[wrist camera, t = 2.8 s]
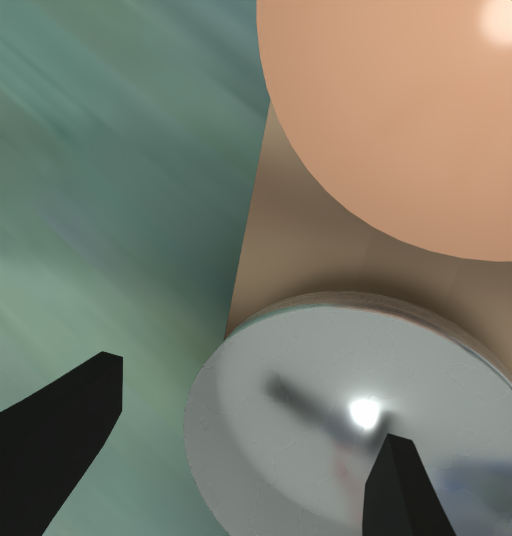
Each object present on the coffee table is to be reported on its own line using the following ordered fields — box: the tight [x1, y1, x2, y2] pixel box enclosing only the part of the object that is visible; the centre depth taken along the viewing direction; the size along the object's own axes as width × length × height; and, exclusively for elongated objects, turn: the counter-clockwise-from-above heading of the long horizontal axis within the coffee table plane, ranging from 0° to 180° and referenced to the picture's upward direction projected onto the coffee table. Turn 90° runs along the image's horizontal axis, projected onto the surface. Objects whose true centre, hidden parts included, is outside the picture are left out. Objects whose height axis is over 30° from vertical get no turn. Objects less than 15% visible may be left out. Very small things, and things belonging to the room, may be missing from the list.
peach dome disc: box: [257, 0, 512, 262], centre depth 10 cm, size 11×11×4 cm
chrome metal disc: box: [183, 291, 512, 536], centre depth 15 cm, size 11×11×4 cm
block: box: [224, 101, 512, 374], centre depth 16 cm, size 26×12×3 cm, turn 168°
